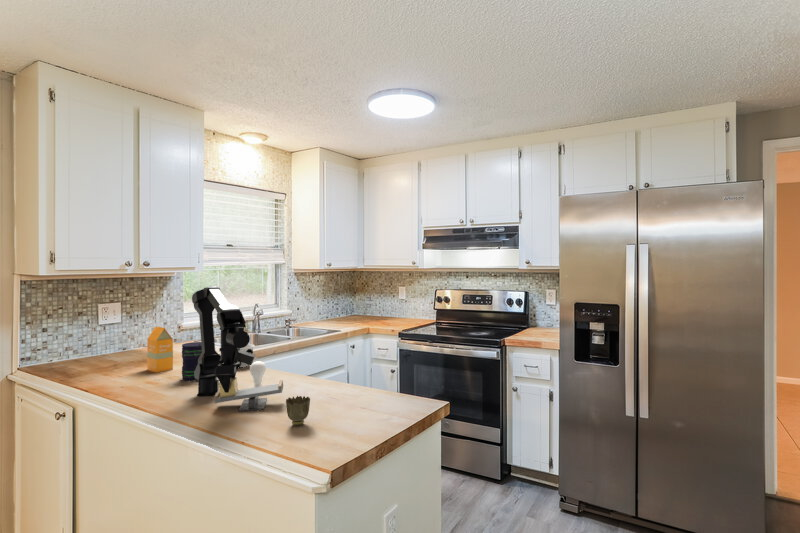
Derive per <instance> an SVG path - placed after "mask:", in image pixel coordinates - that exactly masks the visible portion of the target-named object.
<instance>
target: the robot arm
mask: <svg viewBox="0 0 800 533" xmlns="http://www.w3.org/2000/svg"><path fill="white" fill-rule="evenodd" d="M191 302H192V304H193V308H194V310H195V311H196V312H197V313H198V317H199V330H200V342H201V345H202V353H201V355H200V357H199V359H198V365H197V367H196V369H195V372H194V377H195V379H197V380H198V381H197V382H198V383H197V386H198V387H197V394H196V396H197V397H203V396H215V394H216V393H217V392H218V390H219V382H220V383H221V385H222V387H223V389H224V391H225V393H228V392H229V388H230V382H231V378H235V377H236V376H237V370H238V369H240V368H239V367H240V366H241V365H242V364H241V363H246V364H247V365H248V366H251V365H252V364H253V363H254V360H255V357H256V353H254V348H253V349H250V348H249V349H248V350H247V351H245V350H244V351H242V350H240V348H244V347H246V346H247V345H248V344H250V340H251V336H250V335H249V333H248V332H247V331H245V328H246V326H247V325H246V320H245V317H244V315H243V312H242V310H240V308H239V307H238V306H237V305H235V304H232V303H230V302H229V301H228V299H227V298H226V297H225V295H224V294H223V293H222V291H221V288H220V286H205V287H204V288H203V289H199V290H196V291H195V292H194V293H193V294H192V295H191ZM214 310H215V311H216V312H217V313H216V321H217V323H218V325H219V330H220V347H219V348H218V349H219V350H218V352H220V353H218V352H217V350H216V345H215V344H216V343H215V331H214V328H215V327H214V319H213V312H214ZM238 362H240V364H238Z"/></svg>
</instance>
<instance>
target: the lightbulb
mask: <svg viewBox="0 0 800 533" xmlns="http://www.w3.org/2000/svg"><path fill="white" fill-rule="evenodd" d="M249 366H250V367H249V373H250V375H251V376H252V379H253V384H254V385H253V386H254V387H253V388H255V387H261V386H262V382H263V377H264V375H265V373H266V370H267V368H266V364H265V363H264V362H263V361H261V360H259V361H253V363H252V365H249Z"/></svg>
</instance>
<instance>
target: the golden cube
mask: <svg viewBox="0 0 800 533" xmlns="http://www.w3.org/2000/svg"><path fill="white" fill-rule="evenodd" d="M219 390H220V398H221V397H228V396H234V395H236V394H237V392H238V390H239V387H238V378H237V377H236V376H235V378H231V382H230V388H229V392H228V393H225V391H224V389H223V387H222V385H221V383H220V381H219Z"/></svg>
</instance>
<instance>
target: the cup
mask: <svg viewBox="0 0 800 533" xmlns="http://www.w3.org/2000/svg"><path fill="white" fill-rule="evenodd" d="M310 403H311V397H309V396H306V395H303V397H302V396H301V395H299V396H298V395H296V397H294V396H292V397H288V398H286V399H285V405H286V406H285V407H286V414H287V417H288V419H289V420H291V424H292V426H294V427H299V426H303V425H304V424H305V421H304V420H306V419H307V417H308V416H309V412H310Z"/></svg>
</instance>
